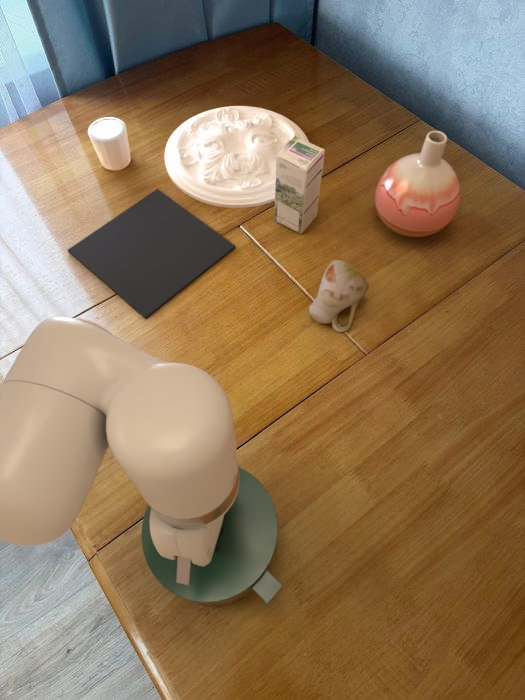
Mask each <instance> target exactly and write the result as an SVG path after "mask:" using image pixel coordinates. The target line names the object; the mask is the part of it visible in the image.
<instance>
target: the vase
mask: <svg viewBox="0 0 525 700" xmlns="http://www.w3.org/2000/svg"><path fill="white" fill-rule="evenodd" d="M447 141H448V136H447V135H446V133H444V132H443V131H441V130H430V131H429V132H428V133H427V134H426V136H425V138H424V141H423V145H422V147H421V151H420V152H415V153H410V154H408V155H405V156H402V157H400V158H399V159H397V160H395V161H394V162H393V163H391V165H389V166H388V167H387V168H386V169H385V170H384V172H383V173H382V174H381V177H380V179H379V180H378V183H377V185H376V189H375V193H374V205H375V210H376V212H377V213H376V214H377V216H378V217H379V218H380V220H381V222H382V223H383V225H385V226H386V227H387V228H388V229H389V230H391V231H392V232H394V233H396V234H398V235H401V236H404V237H407V238H425V237H428V236H431V235H435V234H436V233H438V232H440V231H442V230H443V229H445V228H446V227H447V226H448V225H449V224H450V223H451V221H452V220H453V219H454V217H455V216H456V214H457V211H458V209H459V206H460V202H461V194H462V192H461V184H460V179H459V177H458V175H457V173H456V171H455V169H454V168H453V167H452V165H451V164H449V162H447V160H445V159H444V158H443V154H444V151H445V148H446V145H447Z"/></svg>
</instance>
